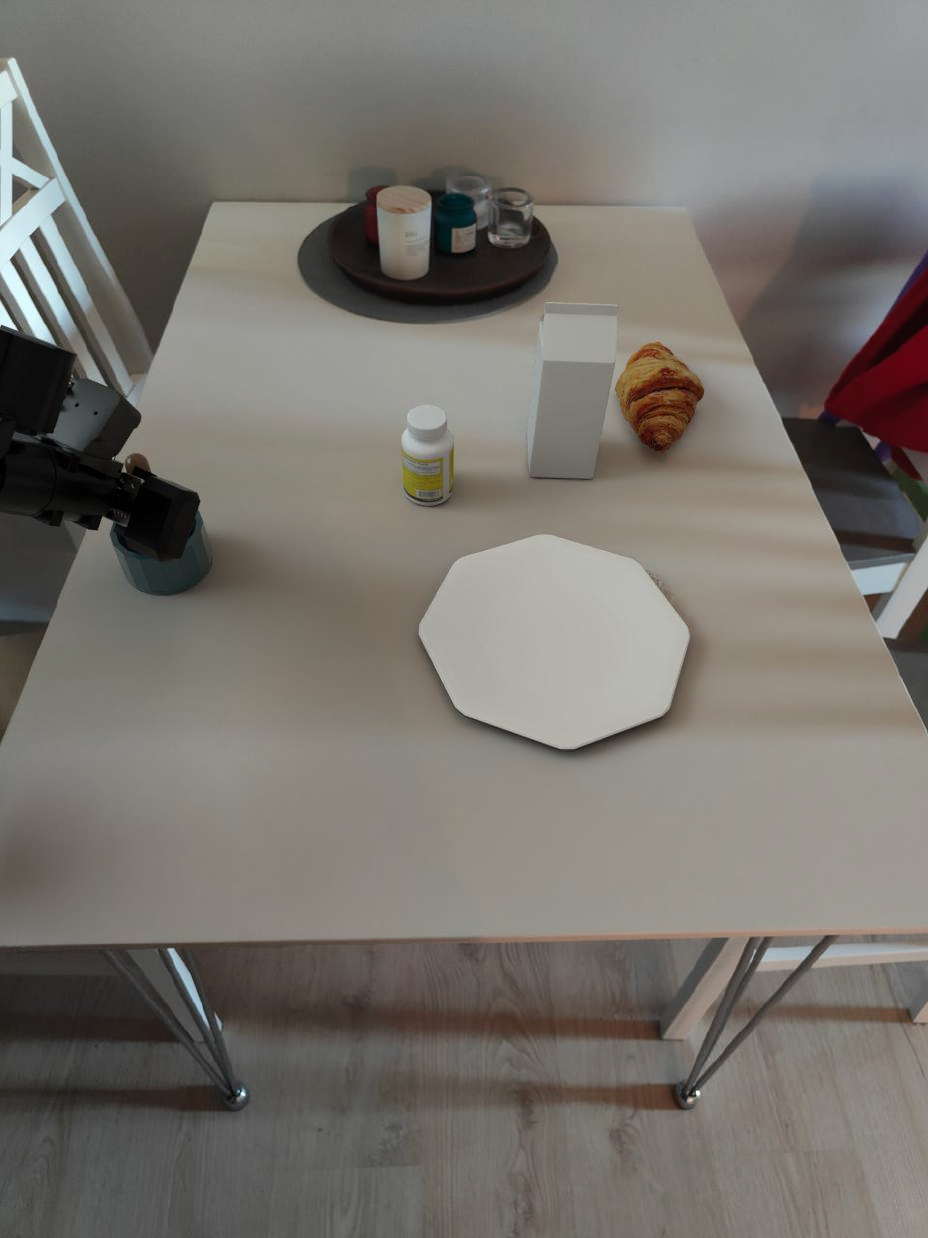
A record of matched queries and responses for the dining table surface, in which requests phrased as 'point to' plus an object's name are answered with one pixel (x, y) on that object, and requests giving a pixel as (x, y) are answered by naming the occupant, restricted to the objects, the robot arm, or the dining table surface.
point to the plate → (555, 641)
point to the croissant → (658, 395)
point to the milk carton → (570, 388)
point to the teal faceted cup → (166, 563)
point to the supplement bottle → (427, 456)
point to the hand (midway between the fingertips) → (161, 500)
